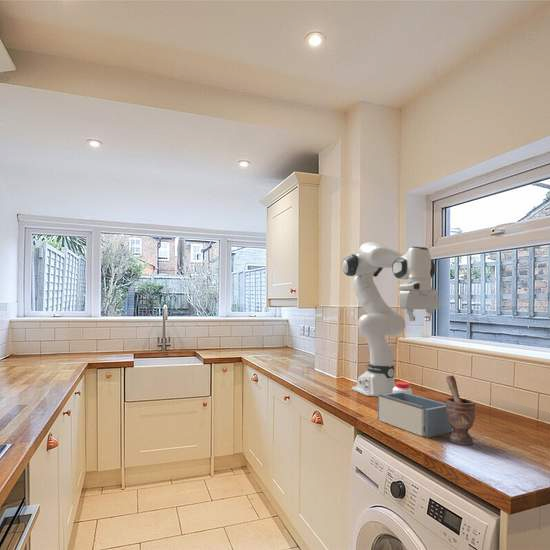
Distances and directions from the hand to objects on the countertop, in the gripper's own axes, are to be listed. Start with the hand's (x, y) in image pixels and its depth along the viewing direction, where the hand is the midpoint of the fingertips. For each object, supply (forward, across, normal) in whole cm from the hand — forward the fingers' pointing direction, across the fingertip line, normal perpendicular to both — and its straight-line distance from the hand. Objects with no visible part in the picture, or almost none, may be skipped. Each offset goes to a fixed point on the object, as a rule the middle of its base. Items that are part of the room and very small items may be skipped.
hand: (420, 320), depth 157 cm
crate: (+38, +12, +5) cm, 40 cm away
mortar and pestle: (+38, +11, +22) cm, 45 cm away
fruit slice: (+38, +11, +11) cm, 41 cm away
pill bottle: (+37, -2, -11) cm, 39 cm away
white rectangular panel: (+38, +19, +5) cm, 42 cm away
